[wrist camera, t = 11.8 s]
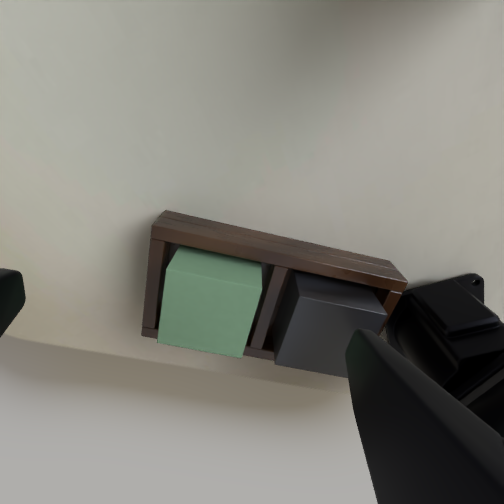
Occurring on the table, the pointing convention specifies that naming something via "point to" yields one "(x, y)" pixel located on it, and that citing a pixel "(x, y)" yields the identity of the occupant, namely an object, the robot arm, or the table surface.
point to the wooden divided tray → (285, 290)
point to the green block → (209, 301)
